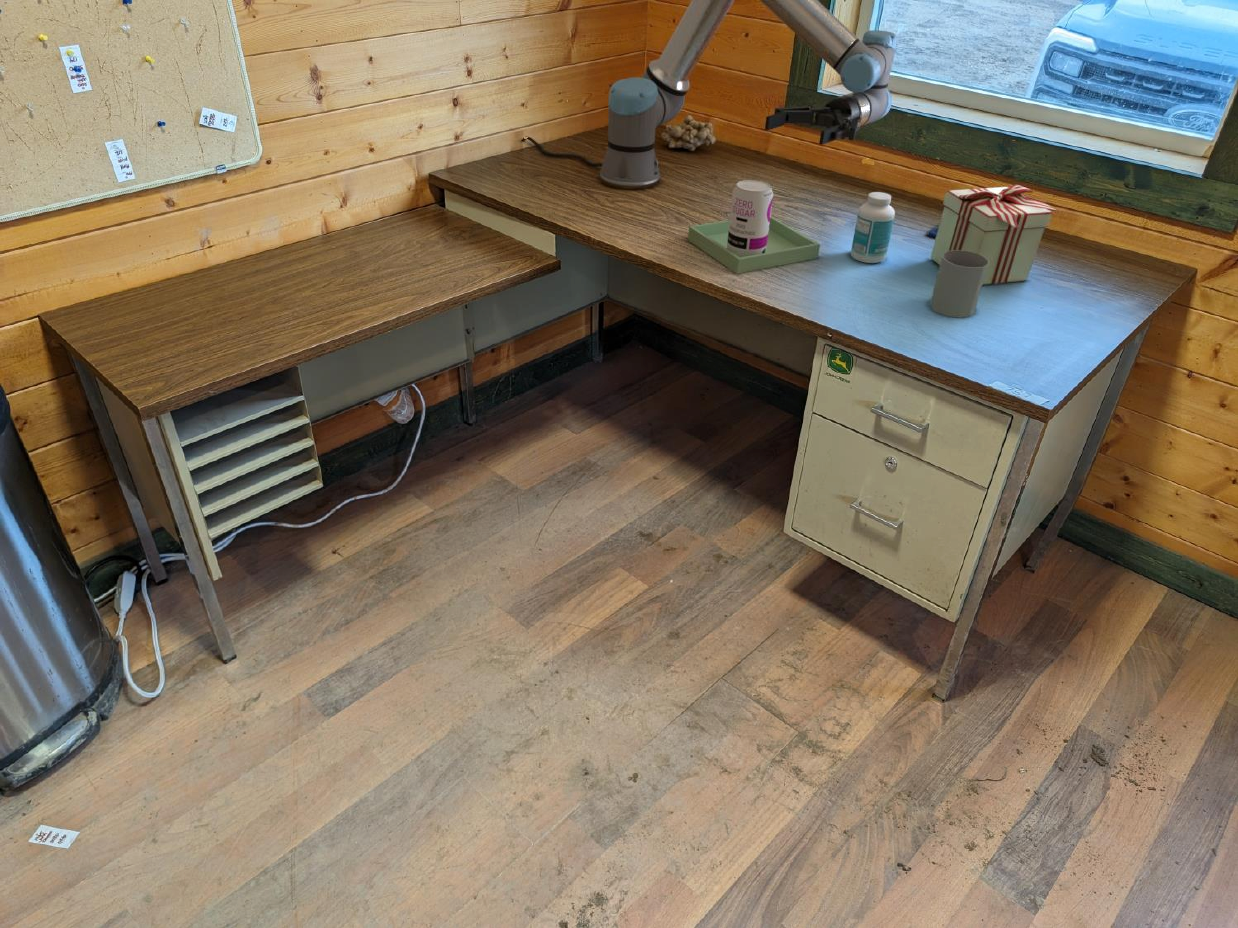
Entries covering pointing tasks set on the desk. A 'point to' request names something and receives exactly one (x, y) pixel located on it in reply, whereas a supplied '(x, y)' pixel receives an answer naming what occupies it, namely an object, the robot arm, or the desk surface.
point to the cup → (958, 283)
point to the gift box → (993, 229)
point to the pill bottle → (873, 229)
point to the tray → (779, 251)
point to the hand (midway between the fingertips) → (793, 130)
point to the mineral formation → (689, 134)
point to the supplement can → (750, 218)
